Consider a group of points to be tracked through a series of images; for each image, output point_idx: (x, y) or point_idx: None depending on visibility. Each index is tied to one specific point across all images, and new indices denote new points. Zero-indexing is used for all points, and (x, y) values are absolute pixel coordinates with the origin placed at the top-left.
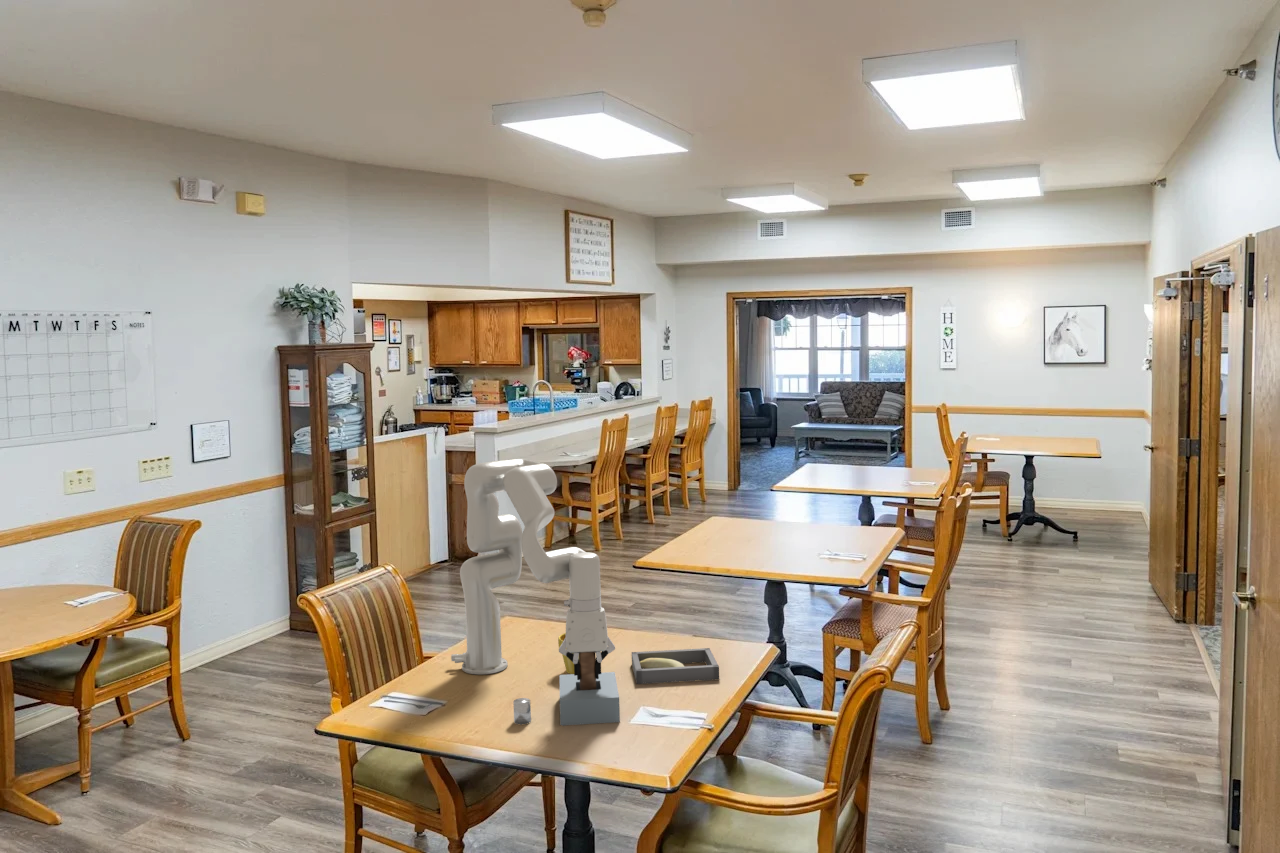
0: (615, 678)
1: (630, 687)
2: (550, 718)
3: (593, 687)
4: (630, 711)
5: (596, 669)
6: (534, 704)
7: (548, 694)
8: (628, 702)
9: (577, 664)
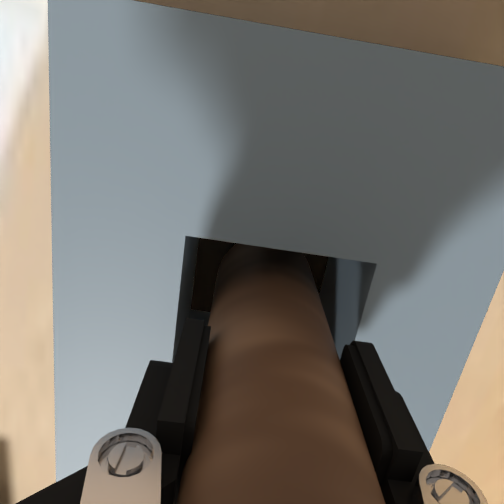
0: (57, 404)
1: (26, 455)
2: None
3: (236, 287)
4: (42, 172)
5: (192, 371)
6: (492, 394)
7: None
8: (46, 295)
9: (416, 449)
